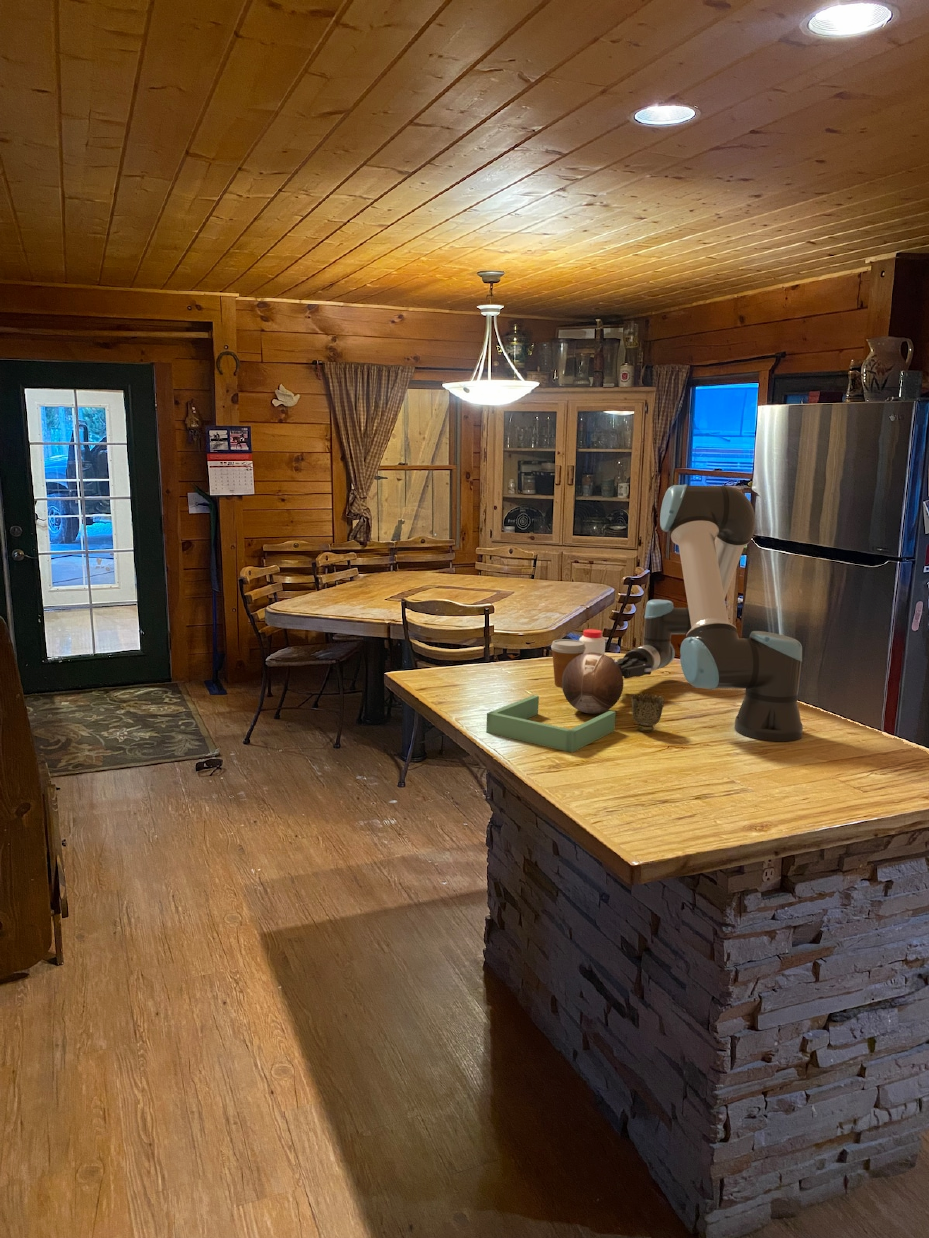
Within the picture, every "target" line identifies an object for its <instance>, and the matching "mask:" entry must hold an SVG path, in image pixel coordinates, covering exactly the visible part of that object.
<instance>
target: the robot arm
mask: <svg viewBox="0 0 929 1238" xmlns="http://www.w3.org/2000/svg"><path fill="white" fill-rule="evenodd" d="M661 502H662V503H661V507H660V515H659V516H660V517H659V524H660V529H661V530H662V531H663V532H666V533H668V532H670V533H669V534H670V539H671V541H672V542H673V544H675V545H677V546H678V551H679V556H680V564H681V569H682V575H683V582H684V589H685V595H686V600H687V601H686V602H687V607H675V606H674V602H672V601H671V600H668V599H660V598H659V599H656V598H655V599H650V600H648V601H647V602H646V606H645V612H644V625H643V627H644V628H643V639H642V641H643V642H642V645H641V646H639V647H636V648H633V649H631V650H629V651H627V652H626V653H625V655H624V656H623V658H618V659H616V660H615V658H613V657H609V656H608V657H609V658H611V659H612V660H613V661H614V662H615V663H616V664H617V665H618V667H619V668H620V670H621V673H622V676H623V679H625V680H626V679H632V678H638V677H643V676H646V675H649V676H650V675H651V674H652V672H654V671H656V670H659V669H663V668H665V667H667V666H668V665H669V664H670V663H672V662H673V660H674V658H675V657H676V656H675V655H676V654H675V653H676V651H675V648H674V645H673V644H672V643H671V640H672V635H686V636H685V637H686V638H684V639H683V641H682V642H681V644H680V648H679V649H680V650H679V653H680V657H679V662H680V667H681V670H682V673H683V676H684V678H685V680H686V681H687V682H688V684H690V685H691V686H692V687H693V688H697V689H707V690H716V689H717V690H718V689H719V690H720V689H722V690H723V689H726V690H727V689H728V690H729V689H730V690H731V689H732V690H734V689H735V690H736V689H737V690H739V689H741V690H743V689H745V691H744V694H745V695H744V698H743V700H742V703H741V705H740V708H739V710H738V713H737V715H736V716H735V719H734V726H733V727H734V730H735V731H736V732H737V733H739V734H741V735H743V736H746V737H749V738H752V739H757V740H763V741H769V742H772V741H773V742H791V741H793V742H794V741H797V740H799V739H801V738H802V737H803V732H804V726H803V723H802V722H801V721H802V720H801V714H800V709H799V705H798V700H799V699H798V698H799V690H800V679H801V672H802V662H803V646H802V644H801V642H800V641H799V640H797V639H795V638H794V637H792V636H791V637H790V636H788V635H787V636H786V635H785V634H784V635H783V634H781V633H780V634H779V633H775V632H769V631H768V632H767V631H763V630H761V631H760V630H753V631H751V632H750V634H749V636H748V637H749V638H742V637H741V638H740V637H739V634H738V629H737V627H736V625H734V624H733V623H730V621H729V616H728V610H727V605H726V597H727V594H728V592H729V589H730V586H731V584H732V580H733V578H734V575H735V573H736V570H737V567H738V565H739V562H740V559H741V556H742V554H743V551H744V548H745V546H747V545H748V544H750V542H751V540H752V539H753V536H754V533H755V529H756V515H755V510H754V507H753V505H752V503H751V501H750V499H749V498H748V497H747V496H746V495H745V494H744V493H743V492H742V491H740V490H739V489H737V488H736V487H733V486H730V485H728V486H727V485H688V484H685V483H684V484H678V485H677V484H673V485H671V486H670V487H668V488H667V490H666V491H665V494H664V497H663V499H662V501H661Z"/></svg>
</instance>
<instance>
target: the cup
mask: <svg viewBox="0 0 929 1238" xmlns="http://www.w3.org/2000/svg"><path fill="white" fill-rule="evenodd" d="M664 703H665V700H664V697H663V696H662V695H659V696H658V695H657V694H655V695H654V697H653V695H652V694H651V693H650V694H648V693H645V694H644V695H643V694H642V693H640V694H639V695H638V694H637V693H634V695H633V694H632V695H631V711H632V712H631V713H632V718H633V720H634V722H635V723H636V724H638V725H637V729H638V730H639V732H643V733H651V732H654V729H655V725H657V724H658V723H659V721H660V720H661V717H662V713H663V708H664Z"/></svg>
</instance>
